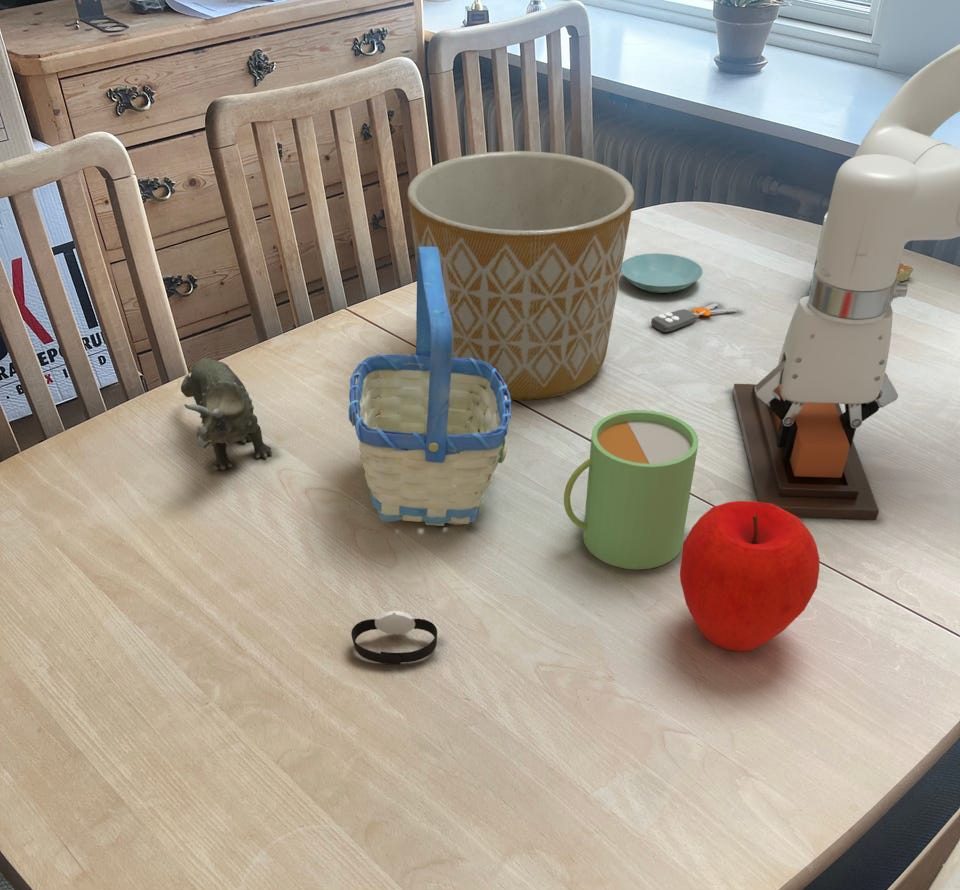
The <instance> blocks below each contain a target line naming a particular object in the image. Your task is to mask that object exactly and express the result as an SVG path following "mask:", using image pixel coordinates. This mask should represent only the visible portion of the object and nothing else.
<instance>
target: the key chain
mask: <svg viewBox="0 0 960 890" xmlns="http://www.w3.org/2000/svg"><path fill="white" fill-rule="evenodd" d="M716 307H717V308H718V307H719V304H718V303H715V302H714V303H711V304H709V305H706V306H705V307H701V306H700V307H695V308H693V309H692V311H690V310H688V309H678V310H675V311H666V312H665V313H664V314H663V313H660V314H658V315H657V316H654V317H652V318H651V325H652V326H653V328H655V329H657V330H658V331H660V332H663V333H667V332H672V331H675V330H678V329H680V328H683V327H686V326H688V325H691V324H693V323H694V322H695V321H696V320H697V318H699V317H700V316H704V317H709V316H711V315H712V314H715V313H716V314H717V313H729V312H738V311H739V310H738V309H737V308H727V309H726V308H725V309H715V308H716Z"/></svg>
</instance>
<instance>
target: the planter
mask: <svg viewBox="0 0 960 890" xmlns="http://www.w3.org/2000/svg"><path fill="white" fill-rule="evenodd" d="M634 198H635V191H634V188H633V185H632V184H631V182H630V181H629V180H628V179H627V178H626V177H625V176H624V175H622V174H621V173H620V172H618V171H617V170H614V169H613V168H611V167H609V166H607V165H604V164H602V163H600V162H597V161H593V160H590V159H587V158H583V157H579V156H574V155H569V154H564V153H563V154H562V153H555V152H547V151H536V150H535V151H532V150H505V151H504V150H503V151H502V150H501V151H489V152H480V153H474V154H468V155H467V154H466V155H463V156H462V155H461V156H459V157H455V158H451V159H447V160H444V161H442V162H441V161H440V162H439V163H437V164H433V165H431V166H430V167H427V168H426V169H424V170H422V171H421V172H420V173H418V174H416V176H415V177H414V178H413V179H412V180H411V181H410V183H409V185H408V188H407V199H408V208H409V216H410V224H411V231H412V240H413V249H414V256H415V264H416V266H417V251H418V247H437V248H438V252H439V257H440V264H441V270H442V277H443V284H444V290H445V295H446V299H447V304H448V308H449V311H450V315H451V319H452V334H453V347H452V357H454V358H472V359H474V360H481V361H484V362H486V363H488V364H490V365H491V366H492V367H493V368H495V369H496V370H497V372H498V373H499V374H500V375H501V377H502V378H503V380H504V382H505V384H506V385H507V389H508V392H509V393H510V399H511V401H533V400H541V399H549V398H552V397H557V396H560V395H564V394H566V393H569V392H572V391H573V390H575V389H577V388H580V387H581V386H583V385H584V384H586V383H587V382H589V381H590V380H591V379H593V377H594V376H596V374H597V373H598V371H599V370H600V369H601V367H602V366H603V364H604V362H605V359H606V356H607V352H608V346H609V342H610V341H609V340H610V335H611V330H612V324H613V318H614V312H615V308H616V307H615V306H616V301H617V296H618V290H619V285H620V279H621V275H622V273H621V268H622V263H623V262H624V255H625V251H626V245H627V239H628V233H629V228H630V223H631V217H632V211H633V206H634V200H635V199H634ZM480 377H481V376H480ZM480 386H481V385H480ZM481 387H483V386H481ZM485 388H486V387H483V389H485ZM470 393H473V392H470ZM475 394H476V393H475ZM477 395H478V394H477Z"/></svg>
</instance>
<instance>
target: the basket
mask: <svg viewBox="0 0 960 890" xmlns="http://www.w3.org/2000/svg"><path fill="white" fill-rule="evenodd" d="M415 314H416V315H415V316H416V319H415V320H416V323H415V324H416V325H415V326H416V329H415V330H416V332H415V335H416V336H415V353H412V354H401V353H400V354H399V353H394V354H393V353H391V354H382V353H380V354H376V355H373V356H369V357H366V358H365V359H363V360H362V361H361V362H359V363H358V364H357V366H356V367H355V369H354V370H353V372H352V374H351V376H350V378H349V379H350V380H349V385H350V388H349V392H348V393H349V394H348V398H349V404H348V405H349V406H348V420H349V422H350V423H351V426H352V427H354V430H355V434H356V437H357V439H358V441H359V444H358V445H359V451H360V453H361V454H360V456H359V459H360V463H362V467H363V470H364V471H365V472H364V477H365V481H366V484H367V486H368V488H369V493H370V499H371V500H370V501H371V504H372V506H373V507H374V508H375V509H376V511H377V513H378V516H379V517H378V519H379V520H380V521H381V522H398V521H400V520H401V521H403V522H419V523H421V522H424V523H425V525H428V526H439V527H444V526H445V524H451V525H457V526H458V525H469V524H470V523H473V522H475V521H476V519H477V517H478V515H479V512H480V505H481V504H482V501H483V497H484V492H485V491H486V490H487V489H488V488H489V487H490V484H491V480H492V476H493V474H494V472H495V471H496V468H497V466H498V464H502V463H503V462H504V461H505V459H506V456H507V452H508V451H507V449H508V448H507V446H505V445H506V436H507V435H508V428H509V423H510V420H511V417H512V404H511V403H512V400H511V399H510V393H509V392H508V389H507V385H506V384H505V382H504V380H503V378H502V377H501V375H500V374H499V373H498V372H497V370H496V369H495V368H493V367H492V366H491V365H490V364H488V363H486V362H484V361H481V360H474V359H472V358H454V357H452V347H453V334H452V319H451V315H450V311H449V308H448V304H447V299H446V295H445V290H444V284H443V277H442V270H441V264H440V257H439V252H438V248H437V247H418V251H417V265H416V313H415ZM480 376H481V377H480ZM480 385H481V386H483V387H486V388H485V389H483V387H481V386H480ZM470 392H473V393H470ZM475 393H476V394H475ZM477 394H478V395H477Z"/></svg>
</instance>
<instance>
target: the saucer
mask: <svg viewBox="0 0 960 890" xmlns="http://www.w3.org/2000/svg"><path fill="white" fill-rule="evenodd" d="M703 271H704V270H703V267H702V266H701V265H700V264H699V263H698V262H696V261H694V260H692V259H690V258H688V257H685V256H682V255H681V256H680V255H677V254H672V253H660V252H659V253H658V252H657V253H656V252H654V253H643V254H638V255H633V256H632V257H629V258H627V259H625V260H623V262H622V268H621V275H622V276H624V278H625V279H626V280H627V281H628V282H630V283H631V284H632V285H633V286H635V287H637V288H638V289H640V290H643V291H645V292H648V293H649V292H650V293H656V294H668V293H675V292H679V291H681V290H684V289H686V288H688V287H689V286H691V285H693V284H695V282H697V281H698V280H699V279H700V278H702V276H703V274H704V273H703Z"/></svg>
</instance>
